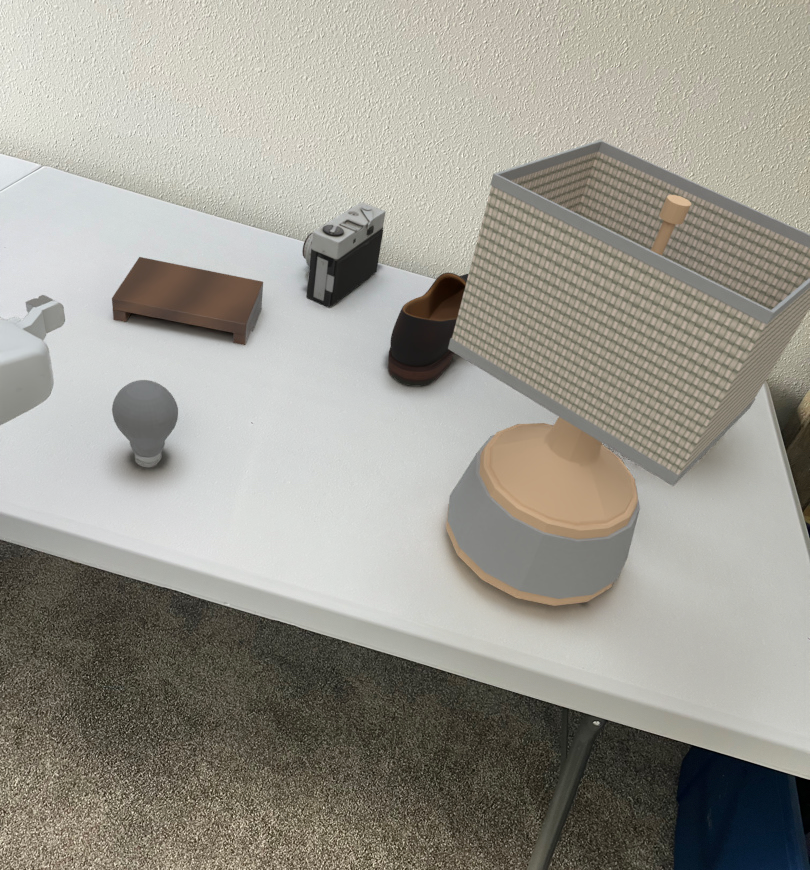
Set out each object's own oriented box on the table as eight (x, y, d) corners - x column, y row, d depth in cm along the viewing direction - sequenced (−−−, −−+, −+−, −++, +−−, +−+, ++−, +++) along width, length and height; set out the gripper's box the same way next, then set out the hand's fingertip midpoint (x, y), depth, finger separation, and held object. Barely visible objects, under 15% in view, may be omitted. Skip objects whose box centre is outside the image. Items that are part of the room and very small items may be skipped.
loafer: (510, 316, 116) (529, 253, 109) (433, 404, 97) (451, 335, 90) (452, 292, 118) (468, 229, 111) (366, 374, 98) (378, 304, 92)
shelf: (114, 327, 95) (111, 298, 93) (140, 285, 103) (139, 256, 100) (244, 352, 97) (246, 324, 94) (261, 308, 105) (263, 281, 102)
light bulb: (159, 494, 77) (155, 413, 70) (105, 473, 78) (96, 391, 71) (190, 460, 82) (189, 380, 75) (139, 440, 82) (133, 360, 75)
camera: (331, 254, 119) (339, 188, 112) (378, 273, 117) (389, 208, 110) (281, 287, 109) (286, 217, 102) (332, 309, 108) (341, 240, 101)
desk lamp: (393, 531, 80) (484, 163, 54) (496, 457, 92) (612, 125, 66) (568, 661, 72) (773, 306, 46) (657, 562, 84) (859, 234, 58)
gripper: (-286, 335, 50) (-86, 266, 59) (-61, 480, 45) (119, 380, 54) (-334, 240, 45) (-110, 182, 54) (-90, 389, 40) (112, 297, 49)
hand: (6, 281), depth 54 cm, fingers open, 8 cm apart
